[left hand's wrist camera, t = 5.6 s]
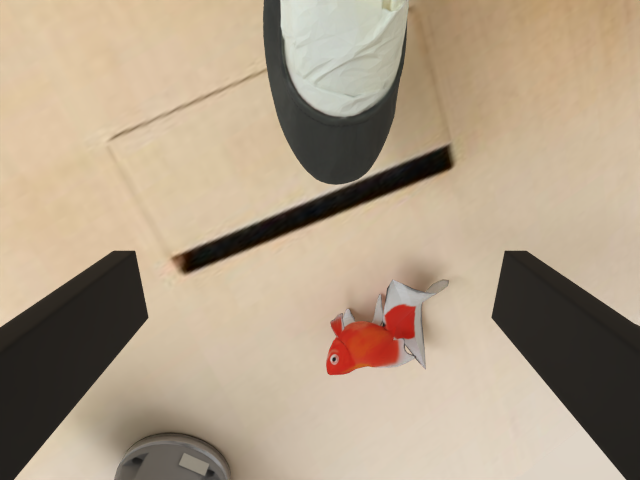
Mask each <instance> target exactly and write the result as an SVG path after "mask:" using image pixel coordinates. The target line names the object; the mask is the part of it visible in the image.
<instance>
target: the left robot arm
mask: <svg viewBox="0 0 640 480" xmlns="http://www.w3.org/2000/svg"><path fill="white" fill-rule="evenodd" d="M147 319H148V313H147V308H146V303H145V298H144V293H143V288H142V283H141V278H140V273H139V268H138V263H137V258H136V253H135V251H113V252H111V253H110V254H108V255H107V256H105V257H104V258H102V259H101V260H99V261H98V262H96V263H95V264H93V265H92V266H90V267H89V268H87V269H86V270H85V271H83V272H82V273H80V274H79V275H77V276H76V277H74V278H73V279H71V280H70V281H68V282H67V283H65V284H64V285H62V286H61V287H59V288H58V289H56V290H55V291H53V292H52V293H50V294H49V295H48V296H46V297H45V298H43V299H42V300H40V301H39V302H37V303H36V304H34V305H33V306H31V307H30V308H28V309H27V310H25V311H24V312H22V313H21V314H19V315H18V316H16V317H15V318H14V319H12V320H11V321H9V322H8V323H6V324H5V325H3V326H2V327H0V480H14V479H15V478H16V476H17V475H18V474H19V473H20V472H21V470H22V469H23V468H24V467H25V466H26V464H27V463H28V462H29V461H30V460H31V458H32V457H33V456H34V455H35V454H36V452H37V451H38V450H39V449H40V448H41V446H42V445H43V444H44V443H45V442H46V440H47V439H48V438H49V437H50V435H51V434H52V433H53V432H54V431H55V429H56V428H57V427H58V426H59V425H60V423H61V422H62V421H63V420H64V419H65V417H66V416H67V415H68V414H69V413H70V411H71V410H72V409H73V408H74V407H75V405H76V404H77V403H78V402H79V401H80V399H81V398H82V397H83V396H84V395H85V393H86V392H87V391H88V390H89V389H90V387H91V386H92V385H93V384H94V383H95V381H96V380H97V379H98V378H99V377H100V375H101V374H102V373H103V372H104V371H105V369H106V368H107V367H108V366H109V365H110V363H111V362H112V361H113V360H114V359H115V357H116V356H117V355H118V354H119V352H120V351H121V350H122V349H123V348H124V346H125V345H126V344H127V343H128V342H129V340H130V339H131V338H132V337H133V336H134V334H135V333H136V332H137V331H138V330H139V328H140V327H141V326H142V325H143V324H144V322H145V321H146V320H147ZM492 319H493V320H494V321H495V322H496V324H497V325H498V326H499V327H500V328H501V330H502V331H503V332H504V333H505V334H506V336H507V337H508V338H509V339H510V340H511V342H512V343H513V344H514V345H515V346H516V348H517V349H518V350H519V351H520V352H521V354H522V355H523V356H524V357H525V359H526V360H527V361H528V362H529V363H530V365H531V366H532V367H533V368H534V369H535V371H536V372H537V373H538V374H539V375H540V377H541V378H542V379H543V380H544V381H545V383H546V384H547V385H548V386H549V387H550V389H551V390H552V391H553V392H554V393H555V395H556V396H557V397H558V398H559V399H560V401H561V402H562V403H563V404H564V405H565V407H566V408H567V409H568V410H569V411H570V413H571V414H572V415H573V416H574V417H575V419H576V420H577V421H578V422H579V423H580V425H581V426H582V427H583V428H584V429H585V431H586V432H587V433H588V434H589V435H590V437H591V438H592V439H593V440H594V441H595V443H596V444H597V445H598V446H599V448H600V449H601V450H602V451H603V452H604V454H605V455H606V456H607V457H608V458H609V460H610V461H611V462H612V463H613V464H614V466H615V467H616V468H617V469H618V470H619V472H620V473H621V474H622V475H623V476H624V478H625V479H626V480H640V326H638V325H636V324H634V323H632V322H631V321H629V320H628V319H626V318H625V317H624V316H622V315H621V314H619V313H618V312H616V311H615V310H613V309H612V308H610V307H609V306H607V305H606V304H604V303H603V302H601V301H600V300H598V299H597V298H595V297H594V296H592V295H591V294H590V293H588V292H587V291H585V290H584V289H582V288H581V287H579V286H578V285H576V284H575V283H573V282H572V281H570V280H569V279H567V278H566V277H564V276H563V275H561V274H560V273H558V272H557V271H555V270H554V269H553V268H551V267H550V266H548V265H547V264H545V263H544V262H542V261H541V260H539V259H538V258H536V257H535V256H533V255H532V254H530V253H529V252H527V251H505V253H504V258H503V263H502V268H501V273H500V278H499V283H498V288H497V293H496V298H495V303H494V308H493V313H492ZM114 480H230V469H229V466H228V464H227V462H226V460H225V459H224V457H223V456H222V455H221V454H220V453H219V452H218V451H217V450H216V449H215V448H214V447H212V446H211V445H209V444H208V443H206V442H204V441H202V440H200V439H197V438H195V437H191V436H188V435H183V434H173V433H166V434H158V435H153V436H149V437H146V438H144V439H142V440H140V441H138V442H137V443H135V444H134V445H133V446H131V447H130V448H129V450H128V451H127V452H126V454H125V455H124V457H123V459H122V461H121V463H120V464H119V466H118V468H117V471H116V475H115V479H114Z"/></svg>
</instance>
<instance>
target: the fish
mask: <svg viewBox="0 0 640 480" xmlns="http://www.w3.org/2000/svg"><path fill="white" fill-rule="evenodd" d="M448 283H449V280H441V281H438V282H436V283H434V284H432V285H431V286H430V288H429V289H428V290H427V291H426V292H422V291H418V290H415V289H412V288H410V287H408V286H406V285H404V284H402V283H399V282H397V281H395V280H392V282H391V283H390V285H389V287H388V288H387V294H386V301H385V307H384V315H383V309H382V300H381V294H379V297H378V301H377V304H376V308H375V314H374V318H373V321H372V322H367V321H357V322H355V318H354V317H353V315H352V314H351V311H350V309H346V311H345V314H344V317H343V313H342V314H339V315H338V316H337V317H336V318H335V319H334V320H332V321H331V327H332V329H333V331H334V333H335V334H336V338H335V340H334V341H333V343H332V345H331V347H330V350H329V352H328V356H327V360H326V367H327V372H328V374H329V375H341V374H347V373H350V372H351V371H353V370H355V369H357V368H361V367H366V366H370V367H379V368H389V367H398V366H400V365H403V364H405V363H407V362H409V361H411V360H413V359H414V358H416V360H417V361H418V362H419V363H420V364H421V365H422V366H423V367H424V368H425V369H426V365H425V348H424V338H423V328H422V312H421V309H422V303H423V302H424V301H425V300H427V299H428V298H430V297H431V296H433V295H435V294H437V293H438V292H440V291H441V290H443V289H444V288H446V287H447V286H448ZM382 322H383V326H380V325H381V324H382ZM393 339H395V340H393ZM405 345H406V346H407V348H408V349H409V350H410V352H411V353H412V354H413V355H411V354H409V353H407V352H406V350H405Z"/></svg>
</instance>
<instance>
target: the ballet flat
mask: <svg viewBox="0 0 640 480" xmlns="http://www.w3.org/2000/svg"><path fill="white" fill-rule="evenodd" d="M408 7H409V0H264V11H263V23H264V24H263V31H264V35H263V36H264V47H265V56H266V64H267V70H268V77H269V82H270V87H271V92H272V96H273V100H274V104H275V108H276V112H277V116H278V119H279V122H280V125H281V128H282V130H283V133H284V135H285V137H286V139H287V141H288V143H289V145H290V147H291V149H292V151H293V152H294V154H295V156H296V158H297V159H298V160H299V162H300V163H301V164H302V166H303V167H304V168H305V169H306V171H307V172H308V173H310V174H311V175H312V176H313V177H314V178H315V179H317V180H319V181H321V182H324V183H327V184H335V185H337V184H345V183H348V182H352V181H355V180H357V179H359V178H360V177H362V176H363V175H365V174H366V173H367V172H368V171H369V169H370V168H371V167H372V165H373V164H374V162H375V161H376V159H377V157H378V155H379V153H380V152H381V150H382V147H383V145H384V143H385V141H386V138H387V136H388V134H389V130H390V127H391V125H392V121H393V118H394V114H395V108H396V100H397V93H398V87H399V82H400V77H401V73H402V69H403V64H404V57H405V49H406V35H407V15H408Z"/></svg>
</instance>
